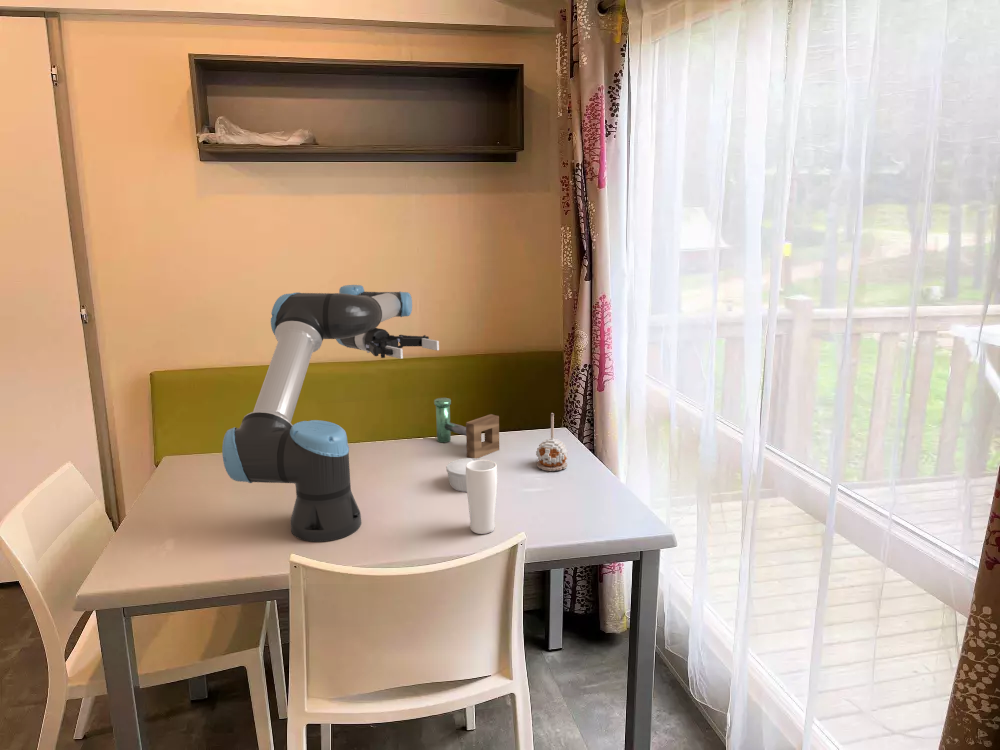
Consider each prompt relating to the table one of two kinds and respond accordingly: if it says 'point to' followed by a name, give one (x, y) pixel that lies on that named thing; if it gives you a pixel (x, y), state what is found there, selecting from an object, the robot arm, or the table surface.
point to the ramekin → (458, 473)
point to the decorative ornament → (552, 452)
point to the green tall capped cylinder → (445, 421)
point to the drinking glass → (481, 495)
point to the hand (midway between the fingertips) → (420, 349)
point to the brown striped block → (474, 436)
